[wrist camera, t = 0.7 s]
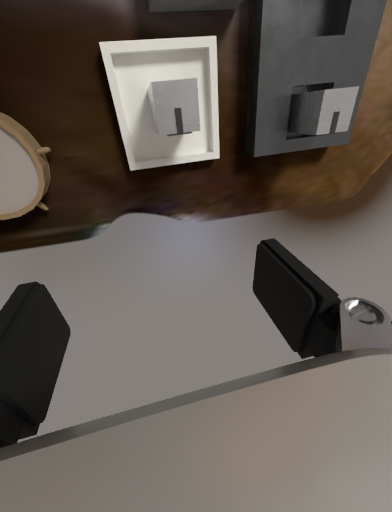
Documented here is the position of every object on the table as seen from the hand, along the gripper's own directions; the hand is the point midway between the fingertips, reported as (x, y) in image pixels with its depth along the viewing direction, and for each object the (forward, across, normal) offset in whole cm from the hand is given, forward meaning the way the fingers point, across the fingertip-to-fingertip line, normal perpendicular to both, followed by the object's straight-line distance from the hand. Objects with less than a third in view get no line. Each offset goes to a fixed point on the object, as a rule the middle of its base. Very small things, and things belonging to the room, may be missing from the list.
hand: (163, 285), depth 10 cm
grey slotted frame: (+23, -21, -10) cm, 33 cm away
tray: (+23, -4, -7) cm, 25 cm away
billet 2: (+23, -21, -6) cm, 31 cm away
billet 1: (+23, -4, -7) cm, 24 cm away
